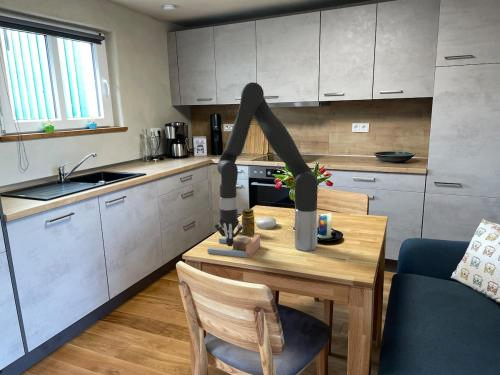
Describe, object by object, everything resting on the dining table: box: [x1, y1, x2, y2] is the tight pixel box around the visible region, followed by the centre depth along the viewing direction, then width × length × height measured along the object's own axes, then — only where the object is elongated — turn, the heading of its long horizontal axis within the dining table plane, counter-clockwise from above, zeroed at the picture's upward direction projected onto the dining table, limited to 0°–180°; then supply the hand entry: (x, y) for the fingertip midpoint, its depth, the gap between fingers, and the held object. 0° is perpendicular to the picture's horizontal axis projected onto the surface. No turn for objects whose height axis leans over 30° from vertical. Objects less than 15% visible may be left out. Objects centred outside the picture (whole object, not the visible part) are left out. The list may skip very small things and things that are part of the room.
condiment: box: [237, 208, 258, 238], centre depth 178 cm, size 7×8×12 cm
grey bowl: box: [255, 216, 277, 230], centre depth 190 cm, size 10×10×3 cm
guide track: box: [207, 234, 261, 259], centre depth 160 cm, size 19×14×5 cm
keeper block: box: [232, 237, 252, 251], centre depth 161 cm, size 6×7×4 cm
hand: (229, 245), depth 161 cm, fingers closed
